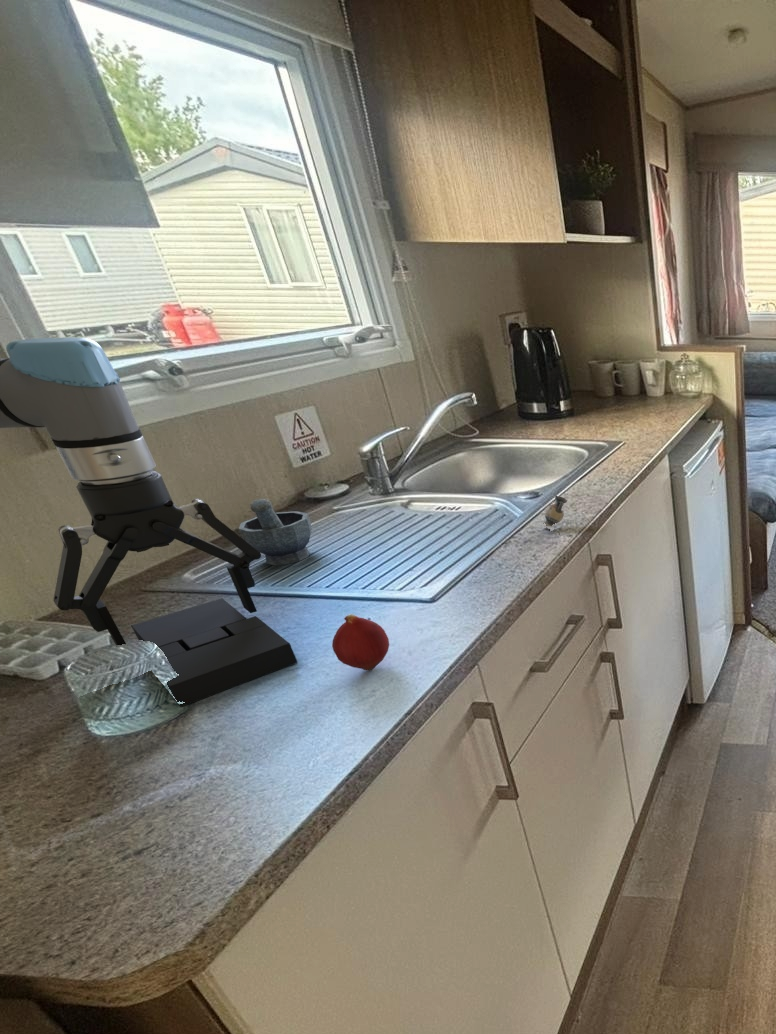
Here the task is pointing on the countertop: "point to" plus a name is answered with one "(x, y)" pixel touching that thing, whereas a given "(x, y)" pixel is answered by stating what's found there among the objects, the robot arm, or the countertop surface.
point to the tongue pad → (190, 625)
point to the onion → (360, 643)
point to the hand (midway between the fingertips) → (190, 628)
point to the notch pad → (227, 660)
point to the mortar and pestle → (277, 533)
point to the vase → (554, 511)
